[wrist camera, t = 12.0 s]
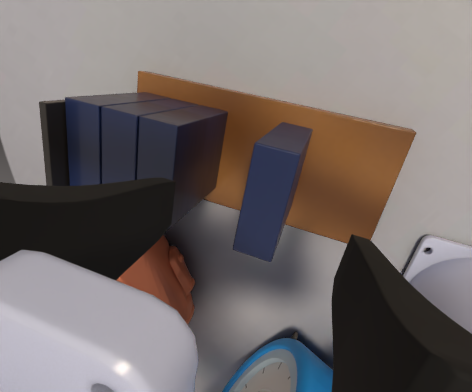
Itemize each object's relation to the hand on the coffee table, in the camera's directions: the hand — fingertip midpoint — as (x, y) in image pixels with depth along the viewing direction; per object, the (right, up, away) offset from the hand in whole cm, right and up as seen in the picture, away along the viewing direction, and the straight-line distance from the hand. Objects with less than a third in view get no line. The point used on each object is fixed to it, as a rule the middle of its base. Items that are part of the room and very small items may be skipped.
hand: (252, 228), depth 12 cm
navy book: (+3, +3, +8) cm, 9 cm away
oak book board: (+1, +4, +9) cm, 10 cm away
